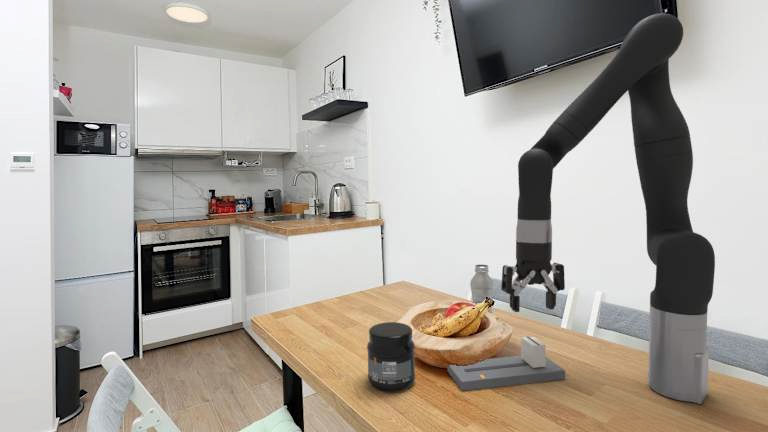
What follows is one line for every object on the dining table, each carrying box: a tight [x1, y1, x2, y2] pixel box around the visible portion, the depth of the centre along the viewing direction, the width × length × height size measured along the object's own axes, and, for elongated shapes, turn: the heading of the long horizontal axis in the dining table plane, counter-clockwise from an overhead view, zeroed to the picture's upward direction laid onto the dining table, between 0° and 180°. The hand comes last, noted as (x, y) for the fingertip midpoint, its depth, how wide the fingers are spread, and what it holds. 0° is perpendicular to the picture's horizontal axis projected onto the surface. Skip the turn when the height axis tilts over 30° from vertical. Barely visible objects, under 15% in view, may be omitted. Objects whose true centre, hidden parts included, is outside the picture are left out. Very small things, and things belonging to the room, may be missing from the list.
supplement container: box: [366, 321, 416, 393], centre depth 84 cm, size 10×10×12 cm
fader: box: [520, 336, 546, 368], centre depth 87 cm, size 3×5×5 cm, turn 10°
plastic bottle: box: [469, 264, 494, 315], centre depth 111 cm, size 6×7×20 cm
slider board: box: [447, 355, 566, 392], centre depth 86 cm, size 24×9×2 cm, turn 100°
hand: (532, 309), depth 86 cm, fingers open, 8 cm apart
